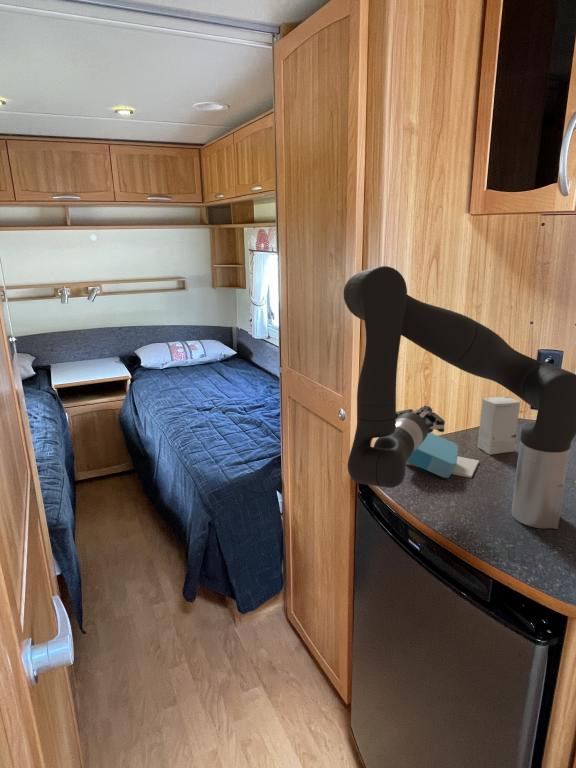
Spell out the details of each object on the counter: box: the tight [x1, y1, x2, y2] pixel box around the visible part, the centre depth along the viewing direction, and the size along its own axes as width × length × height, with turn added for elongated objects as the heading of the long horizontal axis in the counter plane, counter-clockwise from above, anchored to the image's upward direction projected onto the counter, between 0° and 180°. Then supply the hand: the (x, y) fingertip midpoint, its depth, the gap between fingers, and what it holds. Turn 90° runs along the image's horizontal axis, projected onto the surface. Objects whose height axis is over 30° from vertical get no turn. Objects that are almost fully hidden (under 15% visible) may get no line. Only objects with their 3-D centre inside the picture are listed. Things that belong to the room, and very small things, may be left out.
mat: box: [416, 455, 480, 479], centre depth 132 cm, size 14×10×1 cm
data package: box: [407, 432, 459, 479], centre depth 129 cm, size 12×4×12 cm
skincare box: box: [477, 396, 521, 456], centre depth 139 cm, size 8×6×15 cm
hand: (427, 409), depth 120 cm, fingers closed
